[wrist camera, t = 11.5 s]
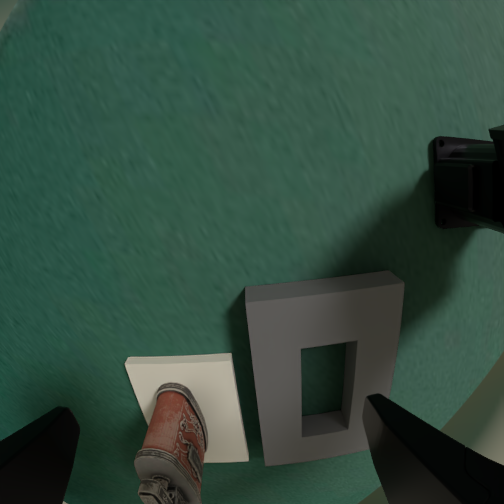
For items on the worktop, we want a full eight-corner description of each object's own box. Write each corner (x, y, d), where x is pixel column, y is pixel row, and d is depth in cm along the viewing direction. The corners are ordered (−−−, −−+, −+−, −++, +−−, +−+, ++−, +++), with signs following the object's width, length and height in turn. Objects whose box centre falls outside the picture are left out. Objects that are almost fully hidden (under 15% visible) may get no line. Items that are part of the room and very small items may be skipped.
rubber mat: (231, 352, 22) (231, 360, 21) (248, 453, 25) (248, 461, 24) (128, 356, 22) (124, 363, 21) (166, 454, 25) (164, 461, 24)
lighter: (215, 448, 23) (207, 544, 14) (178, 448, 24) (161, 540, 14) (192, 380, 21) (169, 493, 12) (149, 382, 21) (111, 487, 12)
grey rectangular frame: (388, 270, 21) (404, 282, 18) (369, 429, 25) (377, 447, 22) (245, 286, 21) (245, 302, 18) (263, 446, 25) (265, 466, 22)
